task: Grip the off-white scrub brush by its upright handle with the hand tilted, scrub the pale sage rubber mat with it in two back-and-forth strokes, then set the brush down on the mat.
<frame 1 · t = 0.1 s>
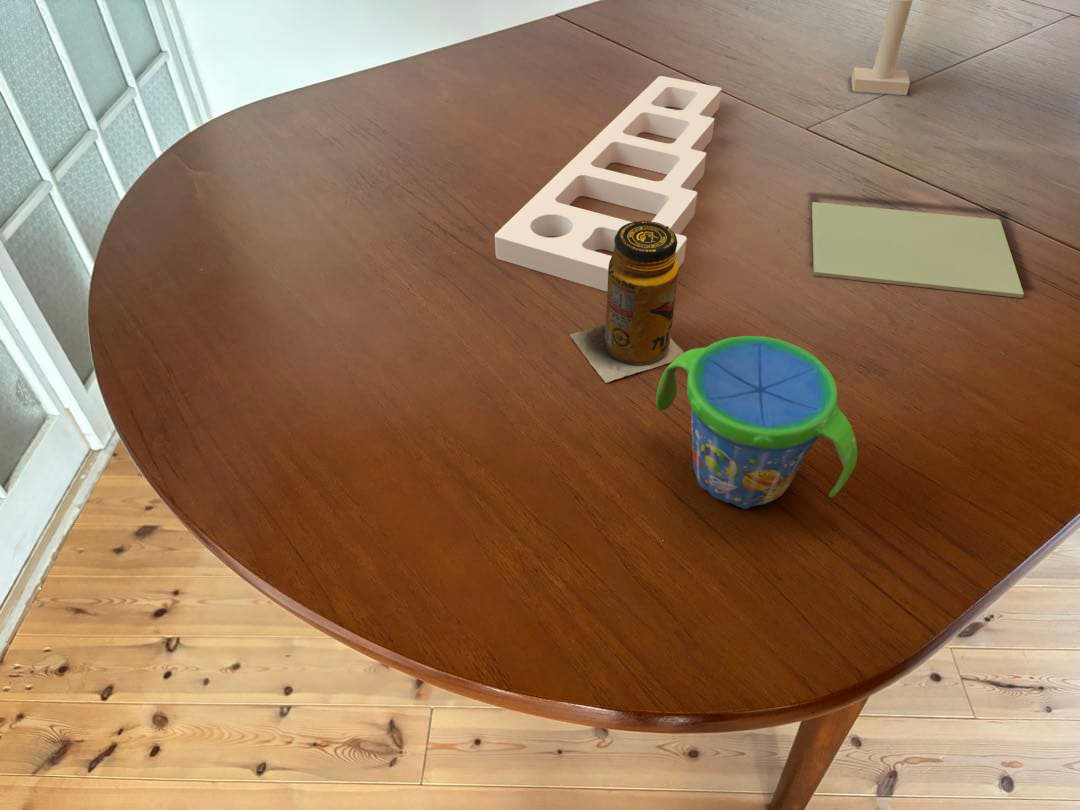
brush: (876, 96, 118), on the table
mat: (909, 248, 91), on the table
holder: (655, 183, 102), on the table
snack cup: (740, 477, 68), on the table
condiment: (627, 349, 80), on the table
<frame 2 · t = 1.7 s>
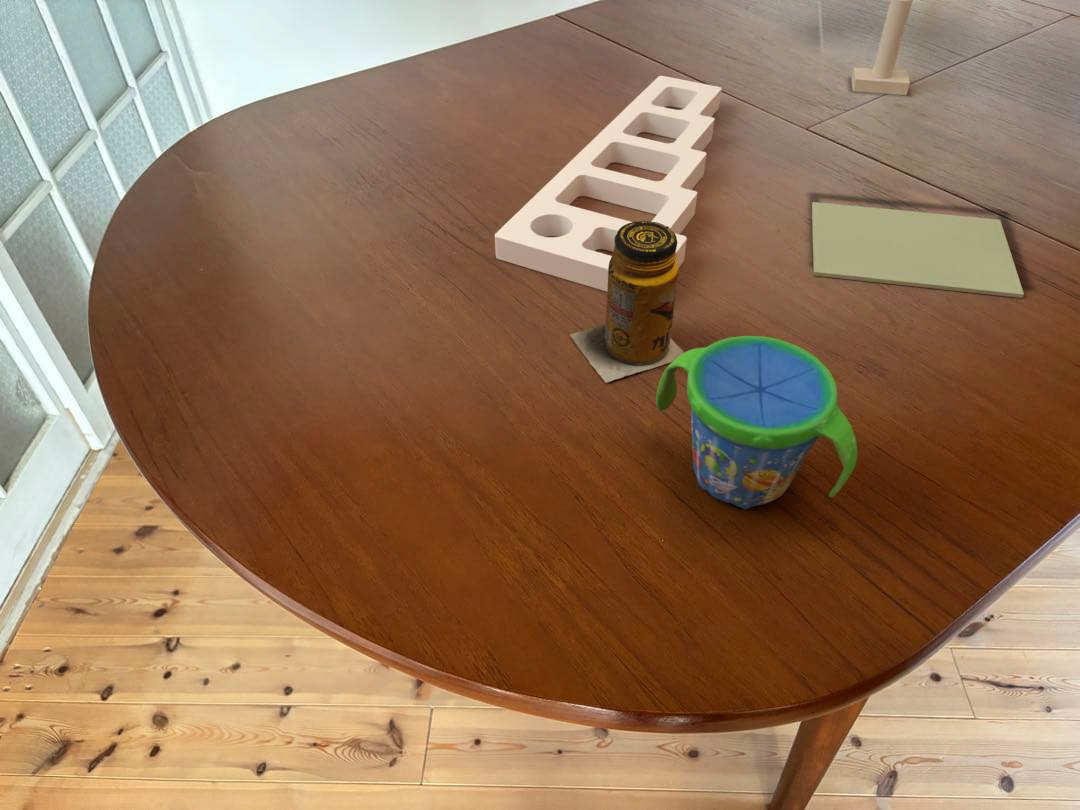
nothing on the table moved.
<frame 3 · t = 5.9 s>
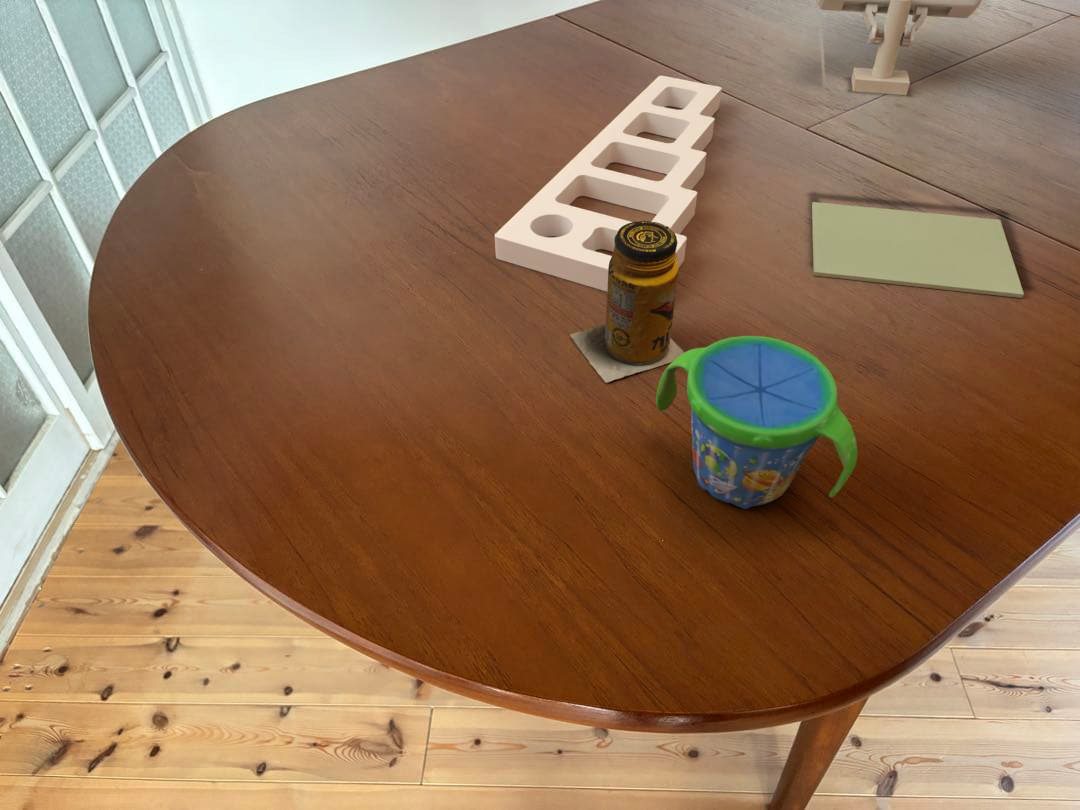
hand: (891, 43, 112), 7 cm above the table, tool tilted 45°, fingers closed on brush, 2 cm apart
brush: (876, 96, 118), on the table, touching gripper
everything else where it was.
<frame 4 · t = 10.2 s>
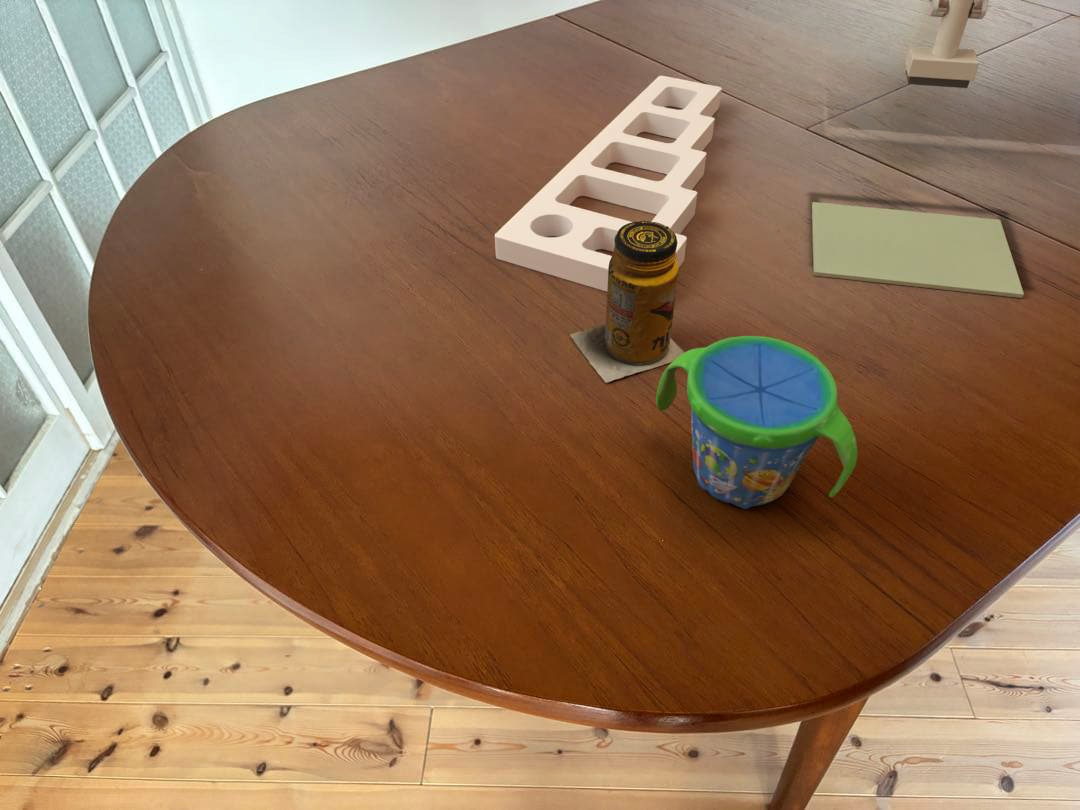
hand: (957, 15, 93), 17 cm above the table, tool tilted 45°, fingers closed on brush, 2 cm apart
brush: (935, 80, 98), point 10 cm above the table, touching gripper
everything else where it was.
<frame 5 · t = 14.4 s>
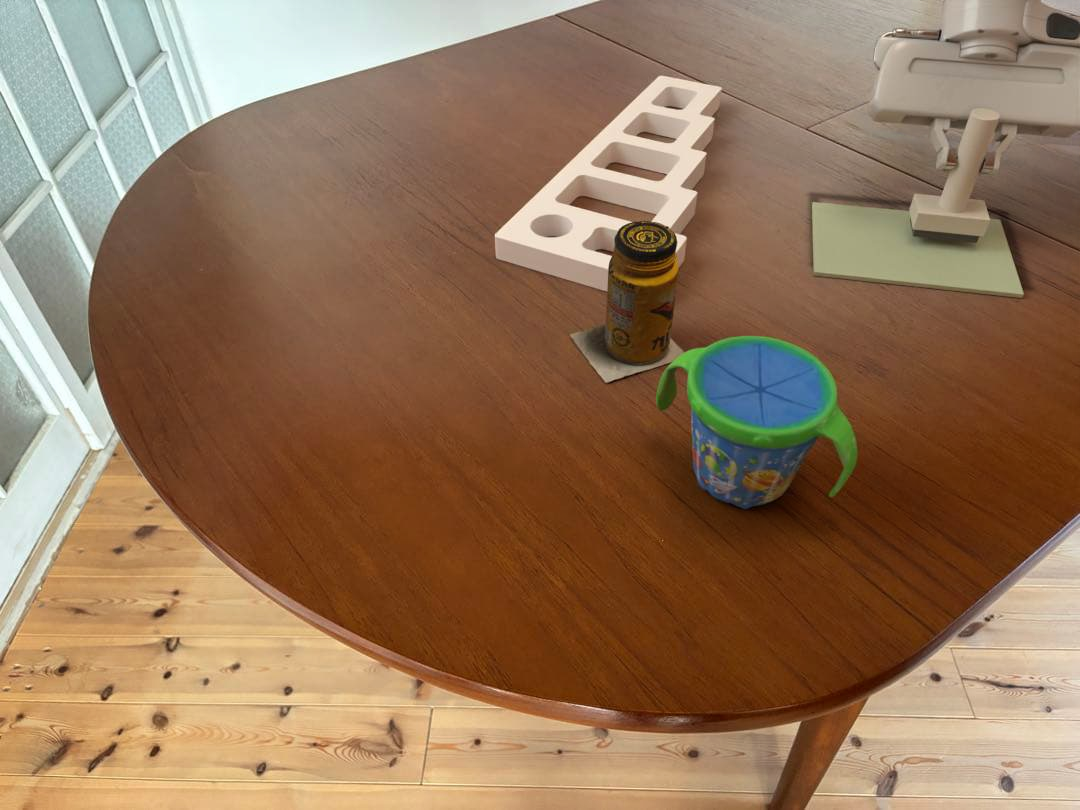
hand: (966, 170, 85), 9 cm above the table, tool tilted 45°, fingers closed on brush, 2 cm apart
brush: (942, 231, 91), point 1 cm above the table, touching gripper
everything else where it was.
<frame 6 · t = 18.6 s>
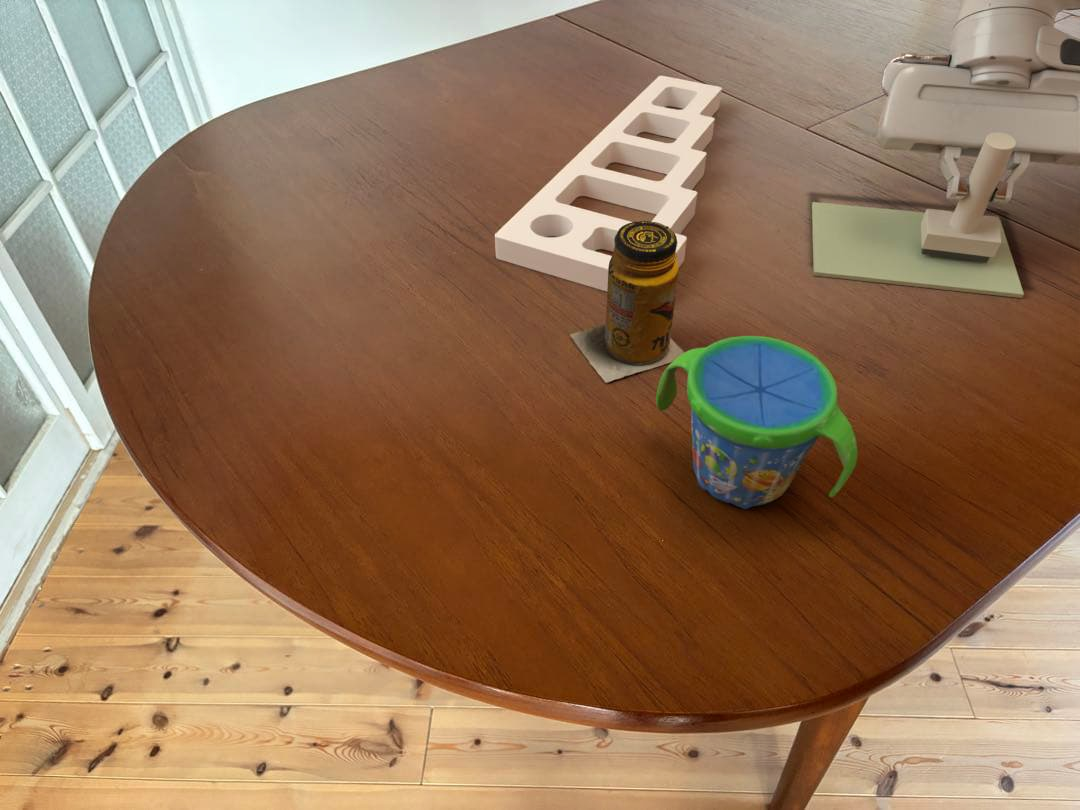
hand: (978, 200, 83), 8 cm above the table, tool tilted 45°, fingers closed on brush, 2 cm apart
brush: (953, 247, 89), point 1 cm above the table, tilted 9°, touching gripper
everything else where it was.
when the fingers open (7 cm above the table, at t = 22.7 s): brush stays where it is, resting on mat.
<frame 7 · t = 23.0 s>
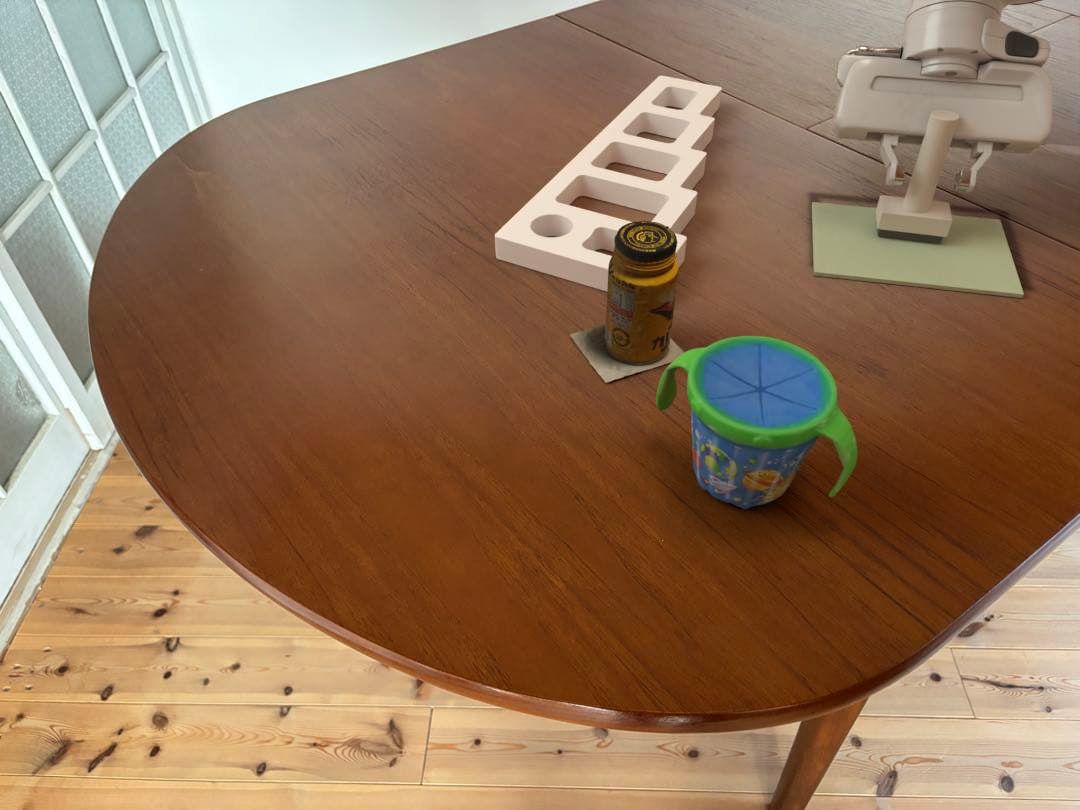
hand: (929, 186, 86), 7 cm above the table, tool tilted 45°, fingers open, 5 cm apart
brush: (907, 232, 92), point 1 cm above the table, touching mat
everything else where it was.
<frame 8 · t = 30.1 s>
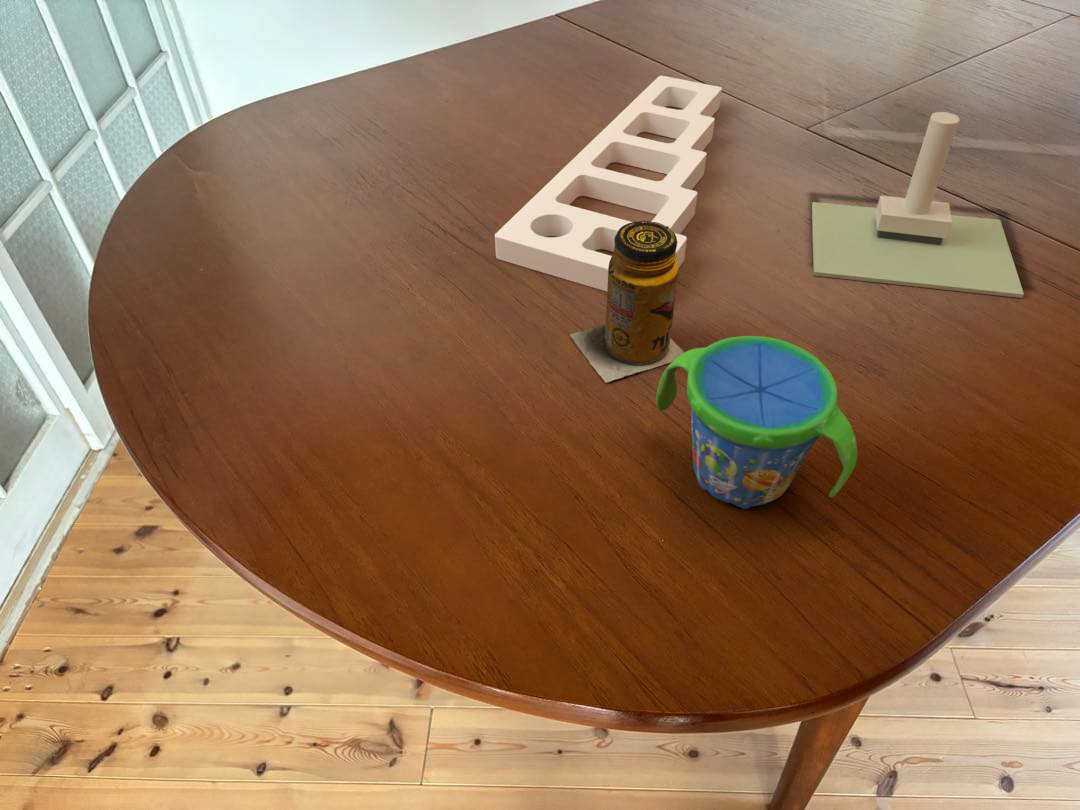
nothing on the table moved.
at the end: brush inside the target area on the mat (2.3 cm from its centre), point 0.5 cm above the mat's base; brush tilted 0°; the gripper is holding nothing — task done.
